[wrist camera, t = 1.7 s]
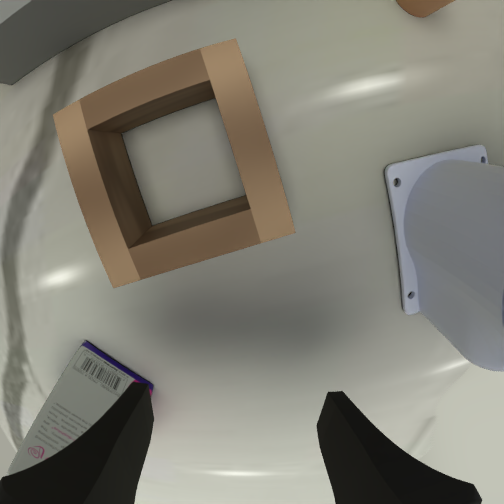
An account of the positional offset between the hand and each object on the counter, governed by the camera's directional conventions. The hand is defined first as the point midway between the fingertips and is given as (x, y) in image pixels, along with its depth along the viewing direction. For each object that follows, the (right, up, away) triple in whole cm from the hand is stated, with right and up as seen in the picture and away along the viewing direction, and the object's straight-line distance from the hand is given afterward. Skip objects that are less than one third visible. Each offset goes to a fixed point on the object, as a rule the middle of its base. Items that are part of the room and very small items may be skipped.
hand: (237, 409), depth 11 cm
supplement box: (-10, -4, +9) cm, 14 cm away
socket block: (-3, +10, +4) cm, 12 cm away
